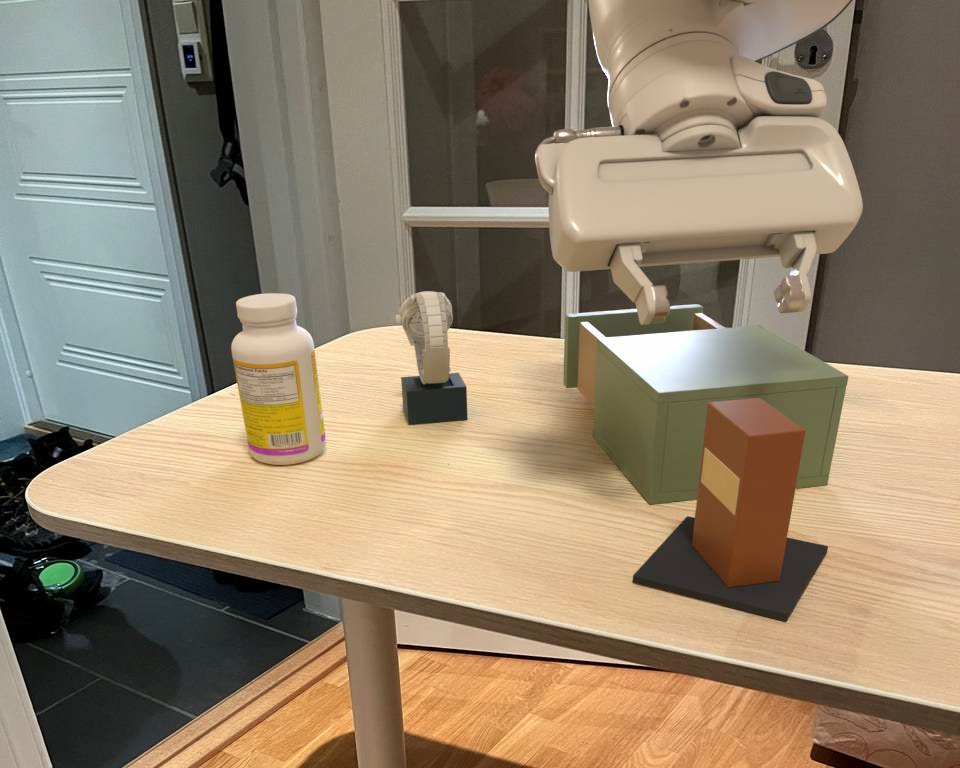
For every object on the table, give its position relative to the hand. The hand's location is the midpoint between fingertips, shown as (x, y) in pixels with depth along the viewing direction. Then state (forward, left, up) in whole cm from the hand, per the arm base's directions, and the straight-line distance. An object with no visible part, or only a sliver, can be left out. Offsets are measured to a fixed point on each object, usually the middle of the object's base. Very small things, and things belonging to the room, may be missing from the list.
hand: (726, 313), depth 59 cm
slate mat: (-4, +5, -15) cm, 16 cm away
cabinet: (+4, -12, -15) cm, 20 cm away
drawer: (+14, -23, -14) cm, 30 cm away
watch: (+30, -11, -15) cm, 36 cm away
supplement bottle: (+36, +3, -15) cm, 39 cm away
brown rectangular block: (-4, +5, -14) cm, 16 cm away
